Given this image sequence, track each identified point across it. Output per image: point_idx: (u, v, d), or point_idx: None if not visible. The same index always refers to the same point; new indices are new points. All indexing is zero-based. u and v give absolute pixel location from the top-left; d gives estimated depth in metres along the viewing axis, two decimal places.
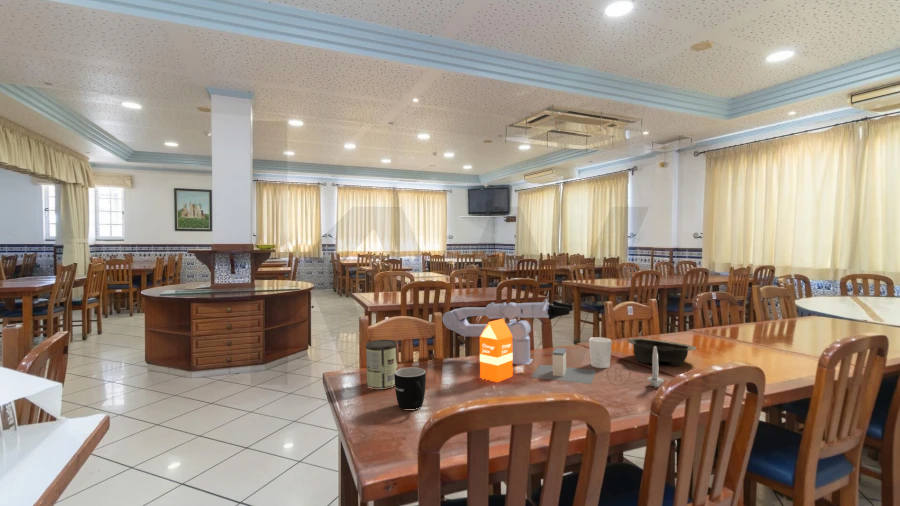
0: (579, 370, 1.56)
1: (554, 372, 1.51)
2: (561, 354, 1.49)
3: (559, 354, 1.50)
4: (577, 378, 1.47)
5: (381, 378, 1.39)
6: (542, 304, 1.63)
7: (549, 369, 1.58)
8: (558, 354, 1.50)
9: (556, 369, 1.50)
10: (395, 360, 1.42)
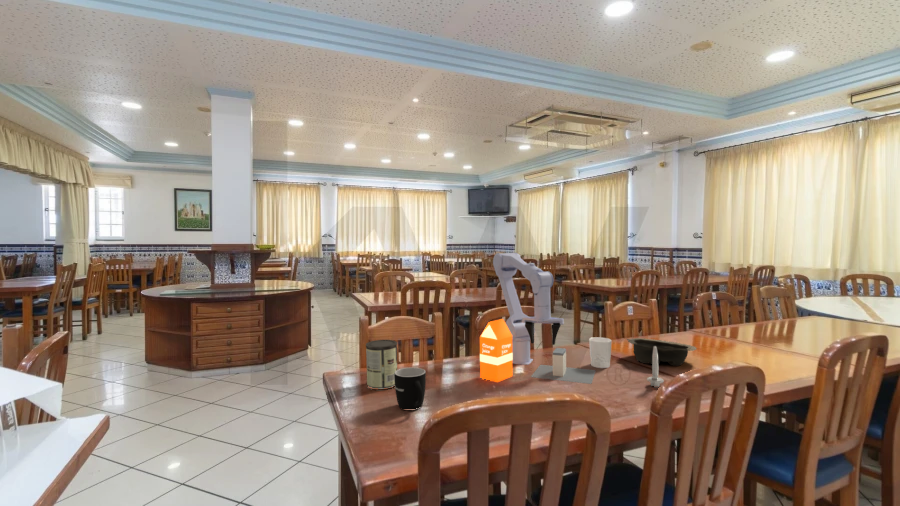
0: (579, 370, 1.56)
1: (554, 372, 1.51)
2: (561, 354, 1.49)
3: (559, 354, 1.50)
4: (577, 378, 1.47)
5: (381, 378, 1.39)
6: (536, 316, 1.53)
7: (549, 369, 1.58)
8: (558, 354, 1.50)
9: (556, 369, 1.50)
10: (395, 360, 1.42)
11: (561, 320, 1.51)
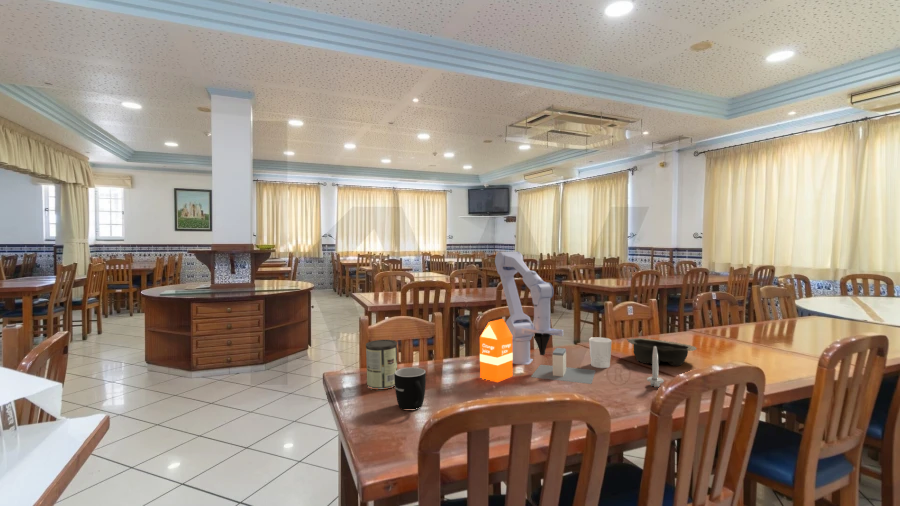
0: (579, 370, 1.56)
1: (554, 372, 1.51)
2: (561, 354, 1.49)
3: (559, 354, 1.50)
4: (577, 378, 1.47)
5: (381, 378, 1.39)
6: (536, 327, 1.54)
7: (549, 369, 1.58)
8: (558, 354, 1.50)
9: (556, 369, 1.50)
10: (395, 360, 1.42)
11: (561, 332, 1.52)
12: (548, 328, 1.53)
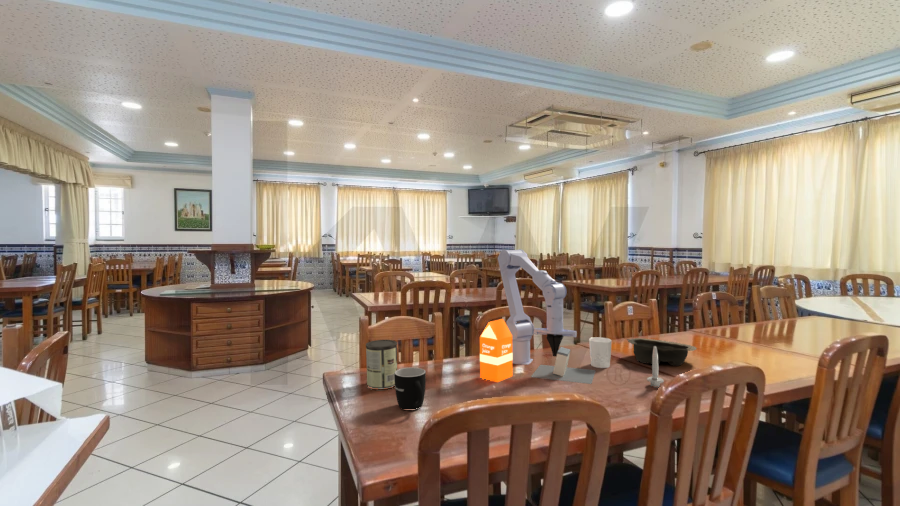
0: (579, 370, 1.56)
1: (555, 370, 1.50)
2: (566, 355, 1.49)
3: (564, 354, 1.49)
4: (577, 378, 1.47)
5: (381, 378, 1.39)
6: (549, 328, 1.52)
7: (549, 369, 1.58)
8: (563, 354, 1.49)
9: (557, 367, 1.50)
10: (395, 360, 1.42)
11: (574, 333, 1.50)
12: (561, 329, 1.51)
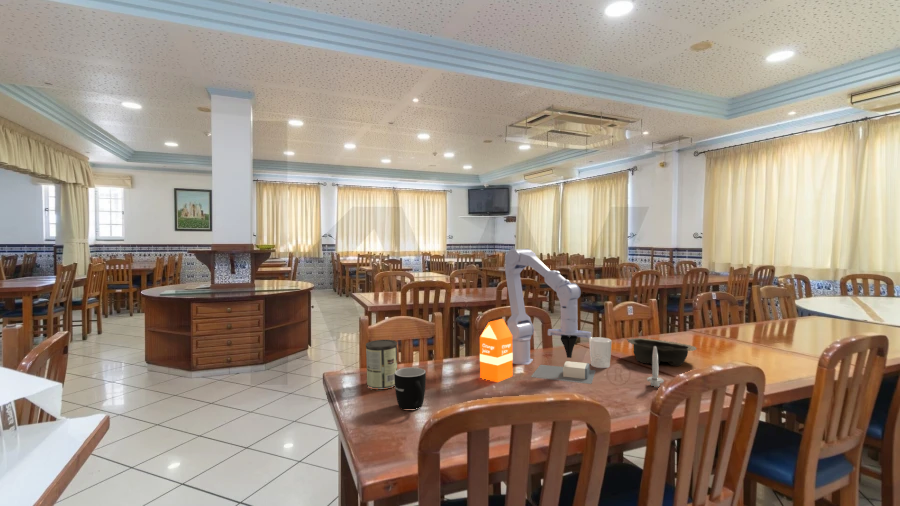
0: None
1: (566, 368, 1.49)
2: (586, 377, 1.46)
3: (585, 375, 1.46)
4: (577, 378, 1.47)
5: (381, 378, 1.39)
6: (563, 329, 1.50)
7: (549, 369, 1.58)
8: (585, 374, 1.46)
9: (570, 370, 1.48)
10: (395, 360, 1.42)
11: (589, 334, 1.48)
12: (575, 330, 1.49)
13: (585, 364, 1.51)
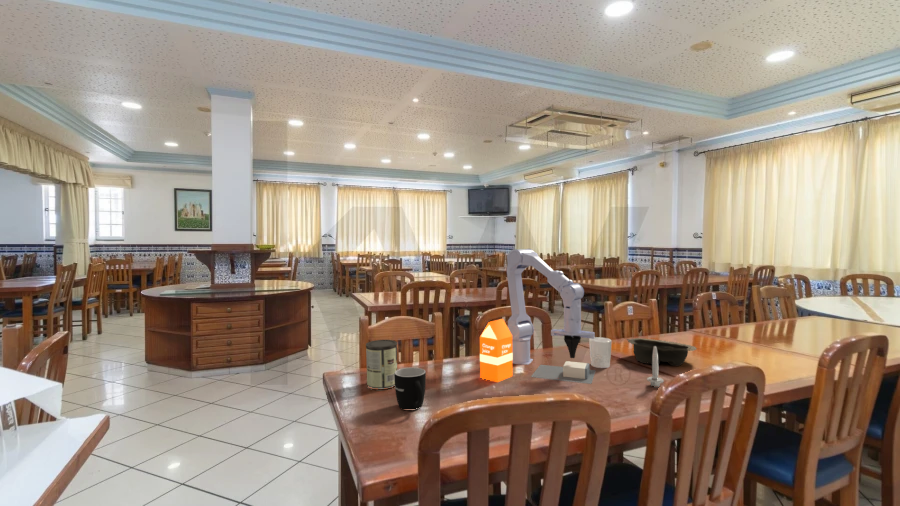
0: None
1: (566, 368, 1.49)
2: (586, 377, 1.46)
3: (585, 375, 1.46)
4: (577, 378, 1.47)
5: (381, 378, 1.39)
6: (566, 329, 1.50)
7: (549, 369, 1.58)
8: (585, 374, 1.46)
9: (570, 370, 1.48)
10: (395, 360, 1.42)
11: (592, 334, 1.48)
12: (579, 330, 1.49)
13: (585, 364, 1.51)
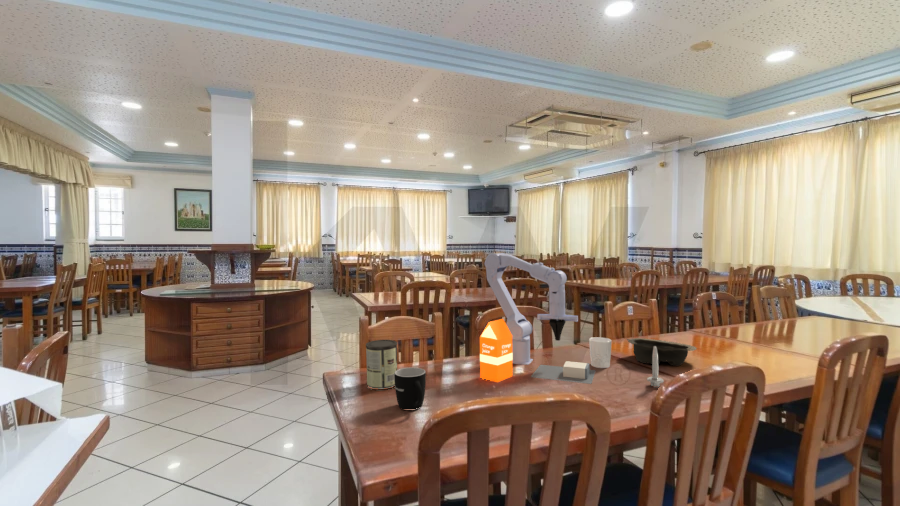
0: None
1: (566, 368, 1.49)
2: (586, 377, 1.46)
3: (585, 375, 1.46)
4: (577, 378, 1.47)
5: (381, 378, 1.39)
6: (551, 313, 1.59)
7: (549, 369, 1.58)
8: (585, 374, 1.46)
9: (570, 370, 1.48)
10: (395, 360, 1.42)
11: (575, 317, 1.56)
12: (563, 314, 1.58)
13: (585, 364, 1.51)
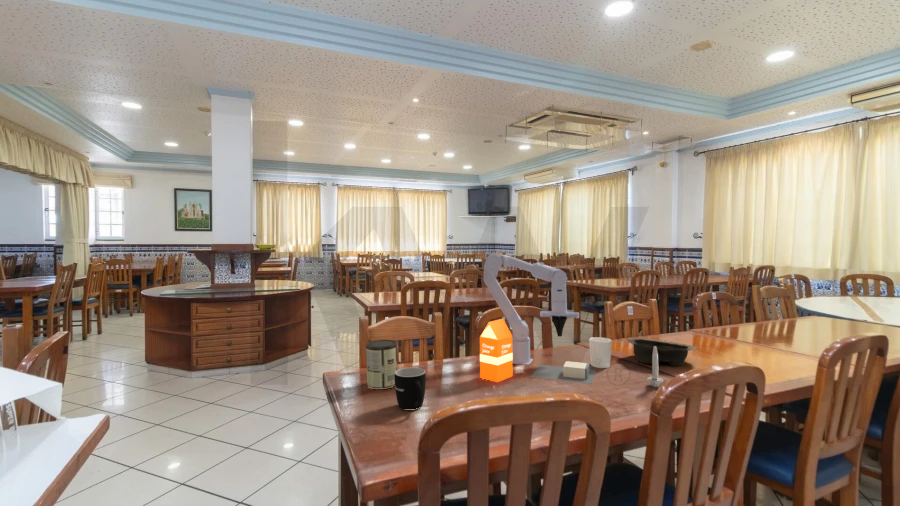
0: None
1: (566, 368, 1.49)
2: (586, 377, 1.46)
3: (585, 375, 1.46)
4: (577, 378, 1.47)
5: (381, 378, 1.39)
6: (553, 310, 1.65)
7: (549, 369, 1.58)
8: (585, 374, 1.46)
9: (570, 370, 1.48)
10: (395, 360, 1.42)
11: (577, 314, 1.63)
12: (565, 311, 1.64)
13: (585, 364, 1.51)
